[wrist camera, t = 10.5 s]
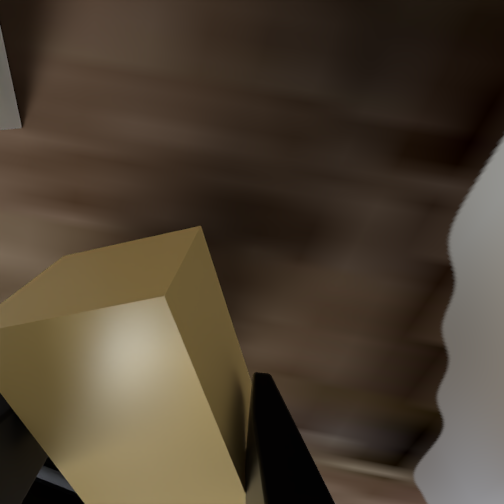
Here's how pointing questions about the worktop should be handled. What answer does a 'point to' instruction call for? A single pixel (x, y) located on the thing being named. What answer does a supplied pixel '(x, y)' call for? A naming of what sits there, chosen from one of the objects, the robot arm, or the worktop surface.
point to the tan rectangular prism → (131, 373)
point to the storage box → (7, 94)
